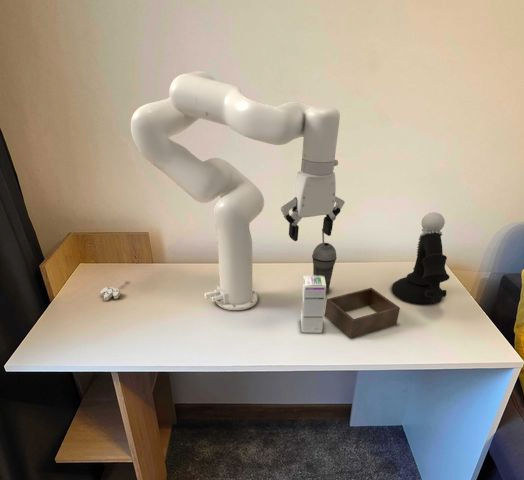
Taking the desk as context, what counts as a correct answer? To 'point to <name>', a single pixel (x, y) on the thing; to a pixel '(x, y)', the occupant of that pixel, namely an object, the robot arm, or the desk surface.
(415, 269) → the sculpture
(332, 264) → the beverage cup
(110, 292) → the white flower stem
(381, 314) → the bin
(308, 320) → the syrup box
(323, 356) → the desk surface
